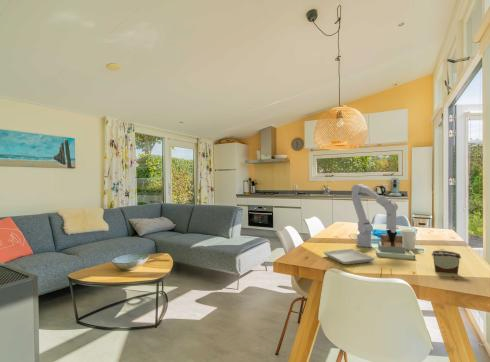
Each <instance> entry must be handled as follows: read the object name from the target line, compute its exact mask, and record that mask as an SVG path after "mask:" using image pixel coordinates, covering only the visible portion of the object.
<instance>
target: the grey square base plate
mask: <svg viewBox="0 0 490 362" xmlns="http://www.w3.org/2000/svg"><path fill="white" fill-rule="evenodd" d="M377 243H378V244H377V245H378V246H377V249H378V251H383V252H396V253H406V249H405V247H404V246H403V245H402V248H400V247H395V246H394V245H391V247H386V246H383V244H381V241H378V242H377Z"/></svg>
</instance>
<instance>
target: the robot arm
mask: <svg viewBox="0 0 490 362" xmlns="http://www.w3.org/2000/svg"><path fill="white" fill-rule="evenodd" d="M364 194H366V195H368V196H370V197H371V198H373V199H375V201H376V203H377V204H378V205H380V206H381V207H382V208H384V210H385V212H386V213H385V215H386V220H385V221H386V222H385V225H386V228H385V231H386V234H387V235H389V240H390V242H394V240H395V236H396V235H398V232H397V231H396V230H399V227H397V210H398V209H399V206H398V204H397V203H396V202H394V201H393V202H392V200H389V199H388V198H387V197H386V196H385V195H379V194H378V193H376V191H374V190H373V189H371V188H370V187H369V186H368V185H366V184H364V183H359V184H358V183H357V184H356V183H355V184H353V186H352V187H351V200H352V204H353V206H354V207H353V208H354V209H355V213H356V216H357V219H358V221H357V230H358V231H357V233H356V245H357V247H361V248H362V247H363V248H373V246H372V231H373V230H374V227H373V225H372V224H371V222H370V220H369V219H368V218H367V215H366V212H365V209H364V206H363V203H362V201H361V197H362V196H363V195H364Z"/></svg>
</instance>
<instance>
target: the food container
mask: <svg viewBox="0 0 490 362" xmlns="http://www.w3.org/2000/svg"><path fill="white" fill-rule="evenodd" d="M431 257H433V265H434V272H435V273H438V274H439V273H441V274H450V275H459V268H460V267H459V266H460V259H462V256H461V254H460V253H457V252H454V251H448V250H433V251H432V253H431Z"/></svg>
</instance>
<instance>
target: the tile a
mask: <svg viewBox="0 0 490 362" xmlns="http://www.w3.org/2000/svg"><path fill="white" fill-rule="evenodd" d="M383 246H386V247H391V242H389V241H383Z"/></svg>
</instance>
